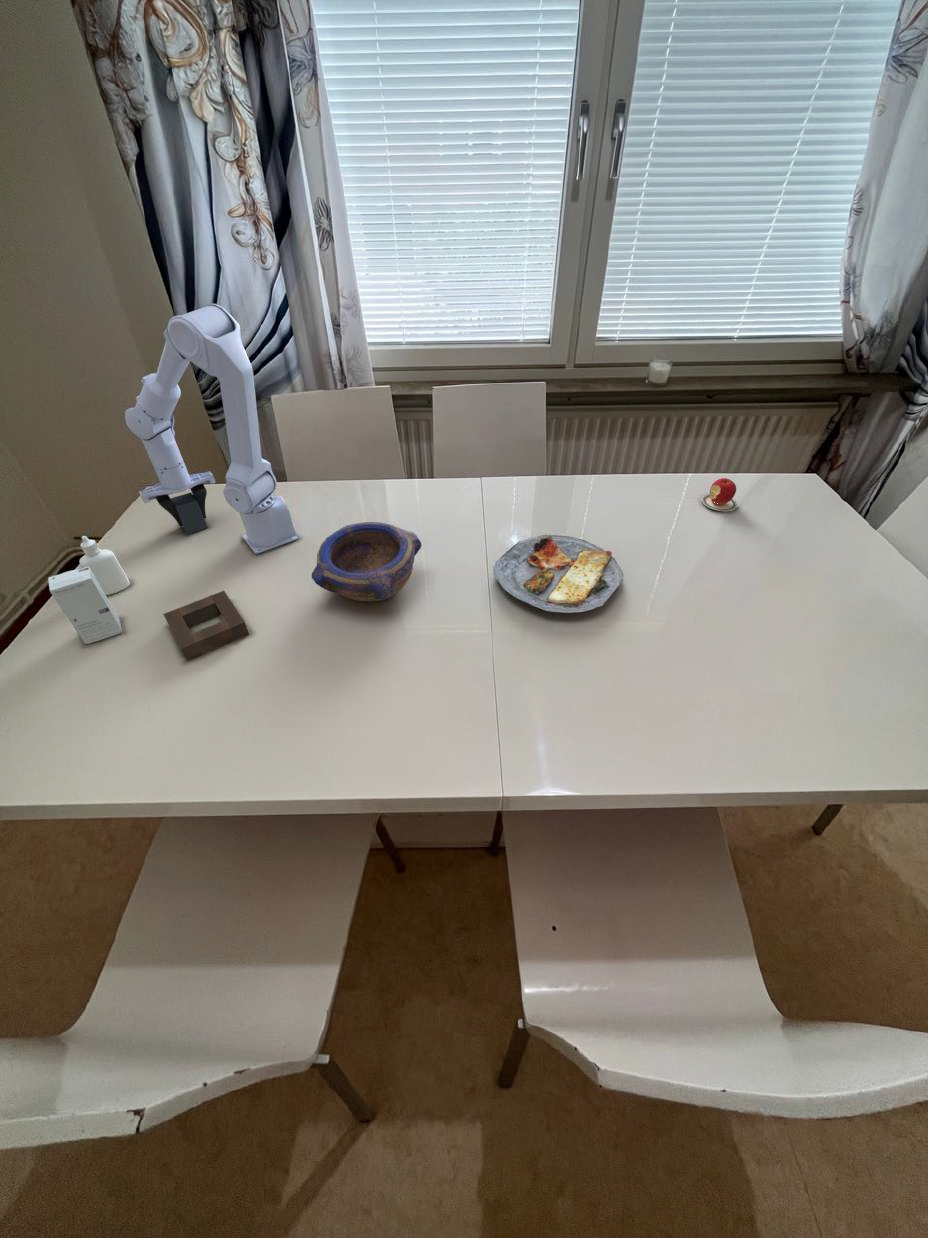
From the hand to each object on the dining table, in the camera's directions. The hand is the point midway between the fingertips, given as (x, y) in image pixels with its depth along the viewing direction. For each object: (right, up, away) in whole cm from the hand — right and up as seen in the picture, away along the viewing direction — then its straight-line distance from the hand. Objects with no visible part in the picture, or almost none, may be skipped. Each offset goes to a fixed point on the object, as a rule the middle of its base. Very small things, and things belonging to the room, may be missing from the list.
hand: (192, 520), depth 115 cm
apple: (+122, +5, +8) cm, 122 cm away
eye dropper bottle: (-7, -16, -15) cm, 23 cm away
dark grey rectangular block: (0, -1, +1) cm, 2 cm away
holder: (+15, -24, -23) cm, 37 cm away
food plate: (+79, -14, -12) cm, 82 cm away
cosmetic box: (-3, -24, -23) cm, 34 cm away
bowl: (+43, -16, -14) cm, 48 cm away
